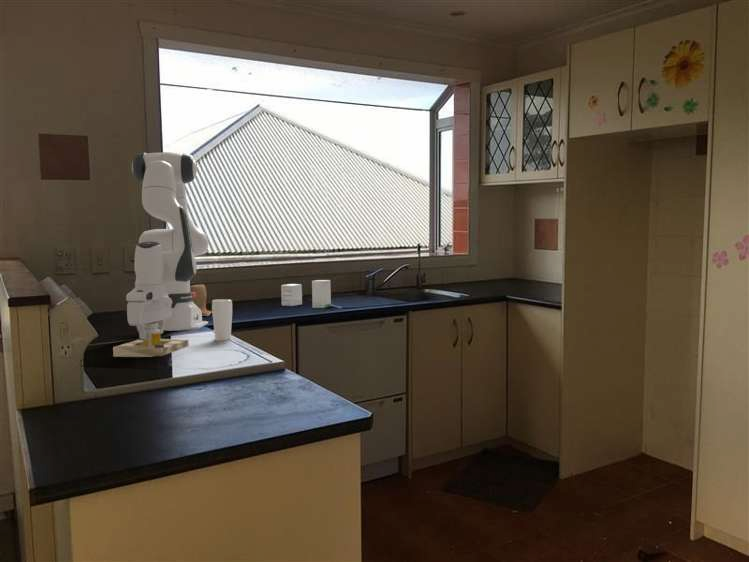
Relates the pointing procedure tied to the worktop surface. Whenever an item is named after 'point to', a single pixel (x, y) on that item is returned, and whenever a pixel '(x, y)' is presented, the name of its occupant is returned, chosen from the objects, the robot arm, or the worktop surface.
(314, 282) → the skincare box
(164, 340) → the cream square tray
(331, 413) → the worktop surface
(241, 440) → the worktop surface
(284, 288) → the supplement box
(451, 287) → the worktop surface
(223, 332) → the drinking glass
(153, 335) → the supplement bottle
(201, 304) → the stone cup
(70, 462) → the worktop surface
